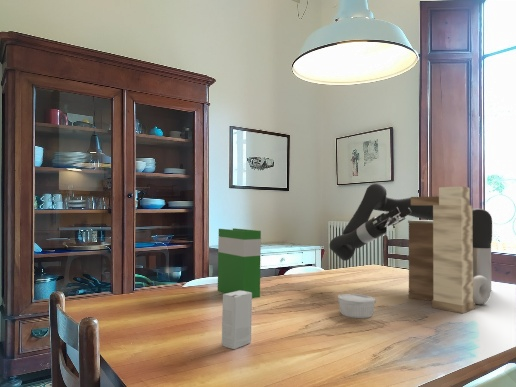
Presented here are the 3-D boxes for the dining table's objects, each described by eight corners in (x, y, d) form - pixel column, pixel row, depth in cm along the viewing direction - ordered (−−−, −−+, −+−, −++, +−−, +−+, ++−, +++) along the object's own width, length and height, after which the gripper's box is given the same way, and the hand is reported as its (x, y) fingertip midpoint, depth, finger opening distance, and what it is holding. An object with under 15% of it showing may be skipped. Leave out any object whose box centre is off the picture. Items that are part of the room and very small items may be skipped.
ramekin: (376, 312, 123) (376, 295, 124) (374, 321, 113) (374, 303, 113) (340, 308, 127) (340, 292, 127) (335, 317, 117) (335, 299, 117)
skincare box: (238, 339, 95) (239, 289, 96) (252, 343, 93) (253, 292, 93) (220, 346, 91) (221, 293, 91) (234, 350, 88) (235, 296, 88)
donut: (475, 307, 131) (475, 277, 131) (465, 305, 134) (465, 275, 134) (492, 304, 136) (492, 275, 136) (482, 301, 139) (482, 273, 139)
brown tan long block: (417, 205, 144) (417, 189, 144) (469, 205, 130) (469, 187, 130) (407, 205, 139) (407, 188, 139) (460, 205, 125) (460, 186, 126)
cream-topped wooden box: (412, 291, 154) (412, 219, 156) (450, 295, 148) (450, 220, 149) (408, 297, 144) (408, 220, 145) (448, 302, 137) (448, 221, 138)
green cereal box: (217, 290, 152) (218, 228, 153) (233, 288, 156) (234, 228, 157) (243, 299, 137) (244, 231, 138) (259, 297, 142) (260, 230, 143)
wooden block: (444, 303, 136) (444, 205, 138) (474, 308, 129) (473, 205, 130) (432, 307, 130) (431, 205, 131) (462, 313, 123) (461, 205, 124)
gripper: (356, 222, 151) (389, 200, 141) (377, 221, 160) (409, 201, 150) (365, 239, 148) (399, 219, 137) (385, 238, 157) (419, 218, 147)
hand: (404, 209), depth 144 cm, fingers open, 8 cm apart
